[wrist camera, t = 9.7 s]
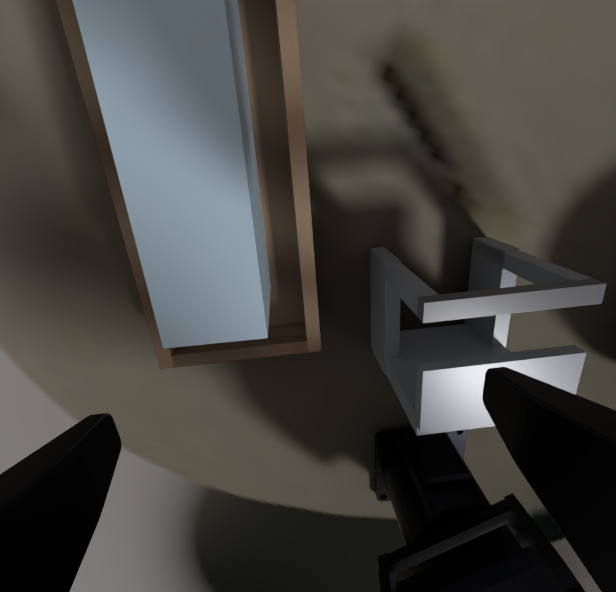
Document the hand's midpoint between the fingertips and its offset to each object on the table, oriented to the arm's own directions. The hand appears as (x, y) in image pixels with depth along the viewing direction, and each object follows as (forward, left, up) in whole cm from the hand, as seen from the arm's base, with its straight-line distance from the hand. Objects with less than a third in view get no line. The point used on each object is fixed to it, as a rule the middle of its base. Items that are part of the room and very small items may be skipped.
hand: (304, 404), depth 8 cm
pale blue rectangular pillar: (+6, +3, -11) cm, 13 cm away
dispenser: (-3, -8, -12) cm, 15 cm away
